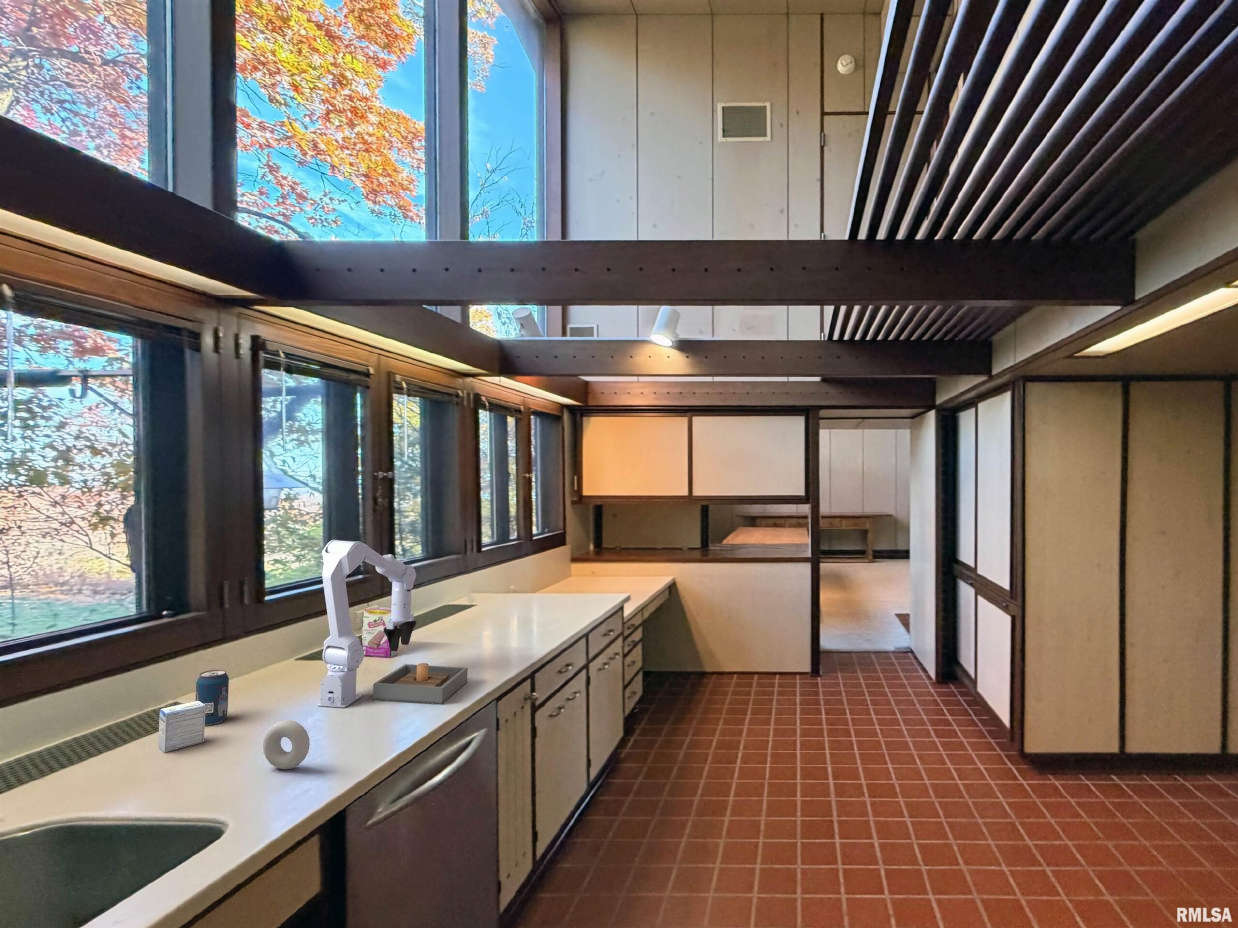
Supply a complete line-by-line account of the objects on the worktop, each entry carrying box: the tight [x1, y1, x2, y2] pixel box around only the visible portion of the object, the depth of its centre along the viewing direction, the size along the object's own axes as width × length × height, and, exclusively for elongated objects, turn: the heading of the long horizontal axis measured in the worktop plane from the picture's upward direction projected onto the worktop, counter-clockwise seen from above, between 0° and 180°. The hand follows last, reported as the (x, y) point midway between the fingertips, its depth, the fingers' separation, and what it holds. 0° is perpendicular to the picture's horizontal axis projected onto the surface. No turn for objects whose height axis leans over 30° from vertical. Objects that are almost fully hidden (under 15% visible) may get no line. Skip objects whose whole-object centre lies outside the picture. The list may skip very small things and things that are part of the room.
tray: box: [372, 663, 469, 705], centre depth 187 cm, size 20×20×4 cm
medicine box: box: [157, 701, 206, 753], centre depth 146 cm, size 8×4×9 cm, turn 141°
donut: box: [262, 719, 311, 770], centre depth 135 cm, size 10×4×10 cm, turn 82°
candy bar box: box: [360, 606, 399, 659], centre depth 223 cm, size 11×5×16 cm, turn 84°
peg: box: [416, 662, 429, 681], centre depth 187 cm, size 3×3×7 cm
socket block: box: [394, 671, 450, 687], centre depth 187 cm, size 12×12×3 cm
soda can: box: [194, 669, 230, 726], centre depth 160 cm, size 7×7×12 cm
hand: (399, 647), depth 199 cm, fingers open, 7 cm apart
